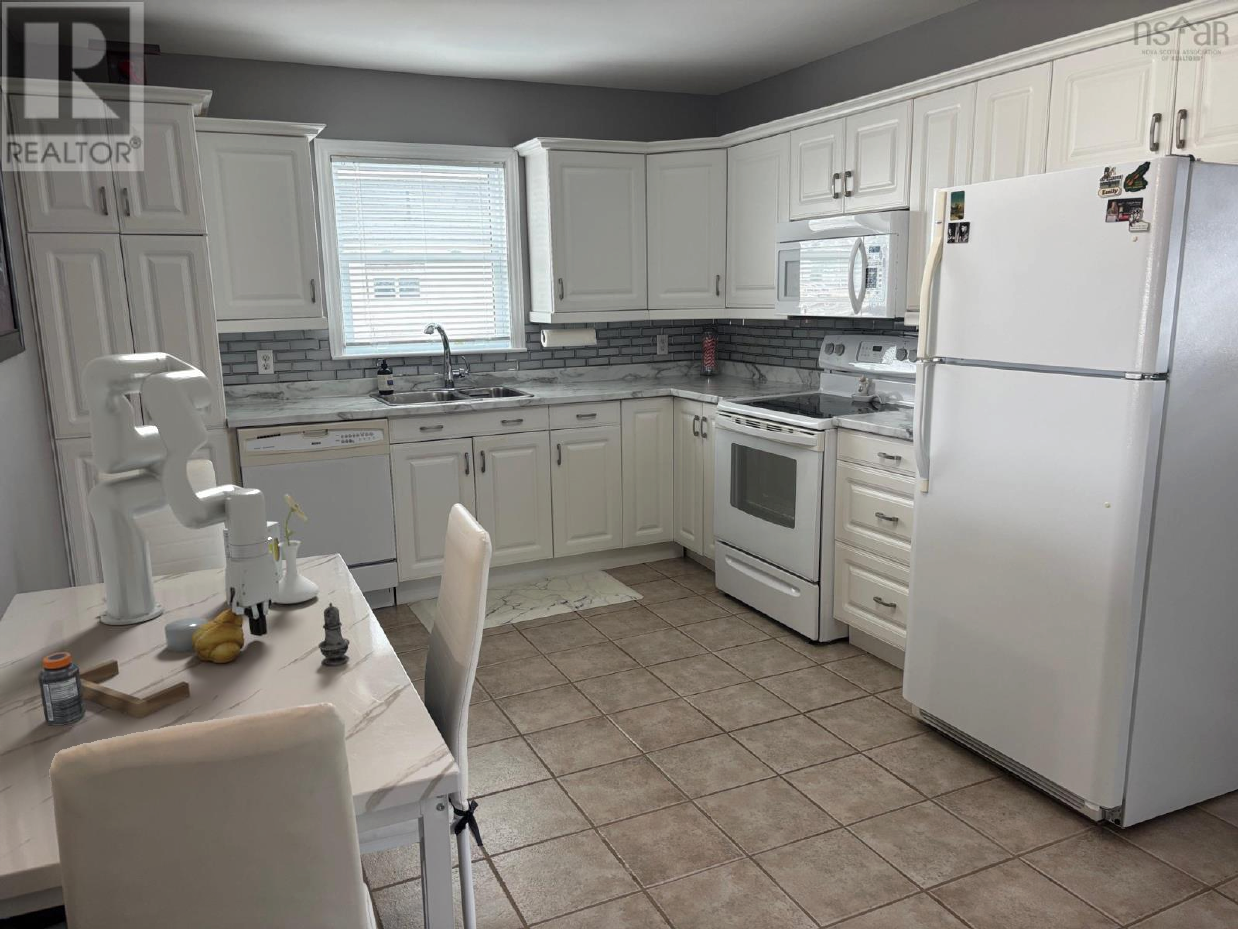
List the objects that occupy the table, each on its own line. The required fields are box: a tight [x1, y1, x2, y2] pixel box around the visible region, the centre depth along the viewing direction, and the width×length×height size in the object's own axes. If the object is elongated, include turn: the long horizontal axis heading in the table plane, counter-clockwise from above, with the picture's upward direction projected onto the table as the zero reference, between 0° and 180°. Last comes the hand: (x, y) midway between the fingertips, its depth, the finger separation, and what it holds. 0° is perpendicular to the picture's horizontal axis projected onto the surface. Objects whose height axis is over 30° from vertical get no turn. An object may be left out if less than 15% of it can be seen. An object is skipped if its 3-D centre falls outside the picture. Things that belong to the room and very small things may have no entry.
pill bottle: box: [38, 651, 86, 726], centre depth 152 cm, size 6×6×11 cm
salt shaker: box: [317, 602, 350, 667], centre depth 174 cm, size 6×6×12 cm
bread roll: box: [192, 608, 245, 664], centre depth 178 cm, size 13×10×8 cm
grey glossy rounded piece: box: [164, 617, 209, 653], centre depth 184 cm, size 8×8×4 cm
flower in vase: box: [274, 493, 320, 605], centre depth 209 cm, size 13×11×25 cm
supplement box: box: [222, 521, 284, 581], centre depth 215 cm, size 10×9×17 cm
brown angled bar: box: [79, 659, 191, 719], centre depth 162 cm, size 23×10×2 cm, turn 60°
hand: (258, 634), depth 186 cm, fingers closed
